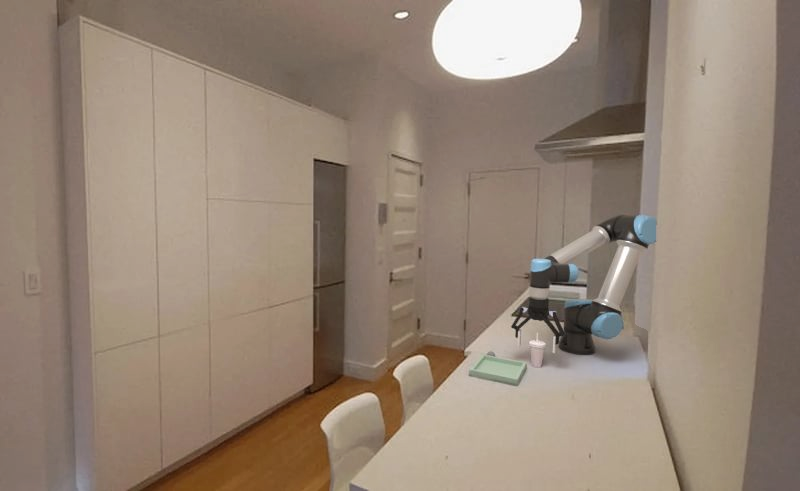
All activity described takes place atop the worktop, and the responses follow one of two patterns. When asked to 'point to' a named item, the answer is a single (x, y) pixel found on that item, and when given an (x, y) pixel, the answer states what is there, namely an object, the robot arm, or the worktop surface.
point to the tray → (498, 369)
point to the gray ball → (491, 353)
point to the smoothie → (536, 352)
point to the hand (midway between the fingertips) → (536, 348)
